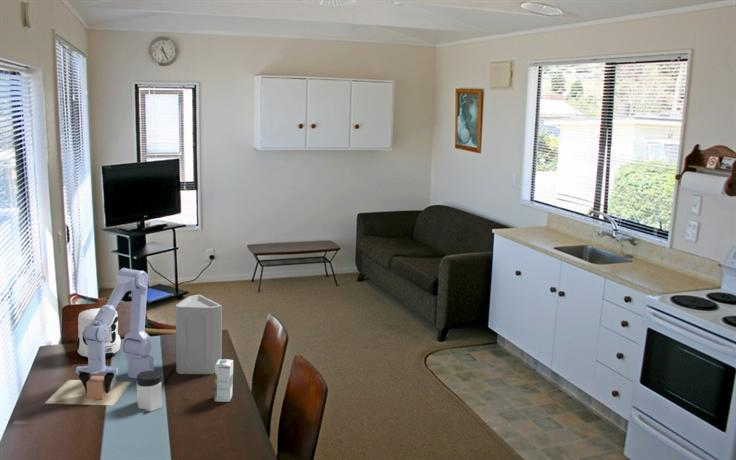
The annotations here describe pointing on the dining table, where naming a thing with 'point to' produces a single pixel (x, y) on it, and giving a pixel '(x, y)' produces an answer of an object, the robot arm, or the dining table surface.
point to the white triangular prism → (198, 335)
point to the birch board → (85, 394)
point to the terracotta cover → (96, 388)
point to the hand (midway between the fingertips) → (97, 391)
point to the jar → (149, 390)
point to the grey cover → (112, 380)
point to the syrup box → (223, 380)
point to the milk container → (110, 342)
